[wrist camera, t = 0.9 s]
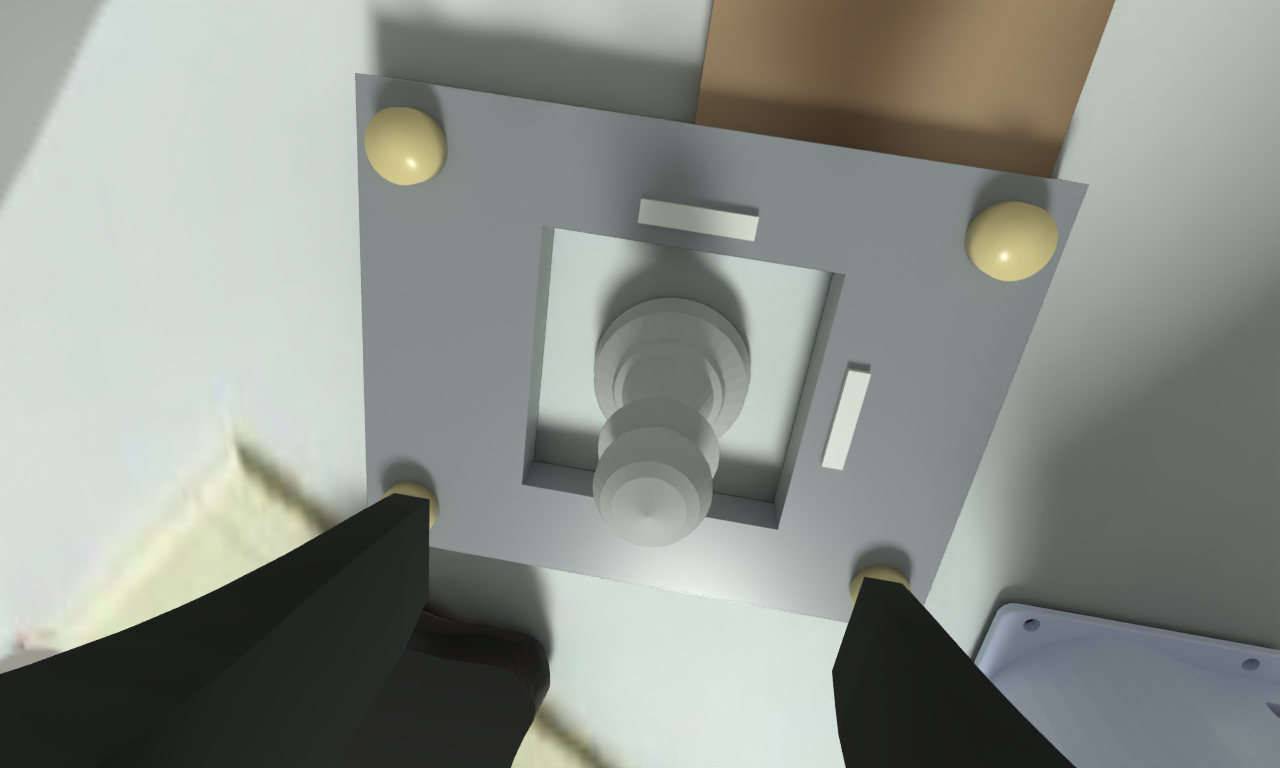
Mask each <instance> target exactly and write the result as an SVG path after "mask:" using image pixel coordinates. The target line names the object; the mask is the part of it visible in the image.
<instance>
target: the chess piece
mask: <svg viewBox="0 0 1280 768" xmlns="http://www.w3.org/2000/svg"><path fill="white" fill-rule="evenodd" d="M594 374H595V375H594V387H595V395H596V398H597V401H598V404H599V407H600V409H601V411H602V413H603V415H604V416H605V418H606V420H607V422H606V423H605V425H604V427H603V428H602V431H601V434H600V437H599V442H598V456H599V462H598V465H597V468H596V471H595V474H594V477H593V487H592V488H593V495H594V501H595V504H596V507H597V509H598V512H599V514H600V515H601V517H602V518H603V520H604V522H605V523H606V524H607V525H608V526H609V528H610V529H611V530H612V531H613V532H614V533H615V534H617V535H618V536H619V537H620V538H622V539H624V540H626V541H628V542H629V543H632V544H635V545H638V546H643V547H663V546H668V545H671V544H673V543H676V542H678V541H680V540H682V539H683V538H685V537H687V536H688V535H690V534H691V533H692V532H693V531H694V530H695V529H696V528H697V527H698V526H699V525H700V524H701V522H702V521H703V520H704V518H705V516H706V515H707V513H708V510H709V508H710V506H711V501H712V495H713V488H712V479H713V478H714V476H715V473H716V471H717V468H718V464H719V458H720V452H719V444H718V440H717V439H718V438H720V437H721V436H722V435H723V434H724V433H725V432H726V431H727V430H728V429H729V428H730V427H731V426H732V425H733V423H734V422H735V420H736V419H737V417H738V416H739V414H740V411H741V409H742V407H743V404H744V400H745V397H746V395H747V392H748V388H749V383H750V361H749V357H748V352H747V349H746V346H745V344H744V342H743V340H742V338H741V336H740V334H739V333H738V332H737V330H736V329H735V328H734V327H733V325H732V324H731V323H730V322H729V321H728V320H727V319H726V318H724V317H723V316H722V315H721V314H720V313H719V312H717V311H715V310H713V309H712V308H710V307H708V306H706V305H704V304H701V303H699V302H696V301H693V300H689V299H682V298H675V297H672V298H657V299H653V300H649V301H645V302H642V303H640V304H638V305H636V306H634V307H632V308H629V309H628V310H626V311H625V312H624V313H623V314H621V315H620V316H619V317H617V318H616V319H615V320H614V321H613V323H612V324H611V325H610V326H609V327H608V328H607V330H606V331H605V333H604V335H603V337H602V338H601V340H600V342H599V345H598V349H597V352H596V355H595V364H594Z"/></svg>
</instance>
